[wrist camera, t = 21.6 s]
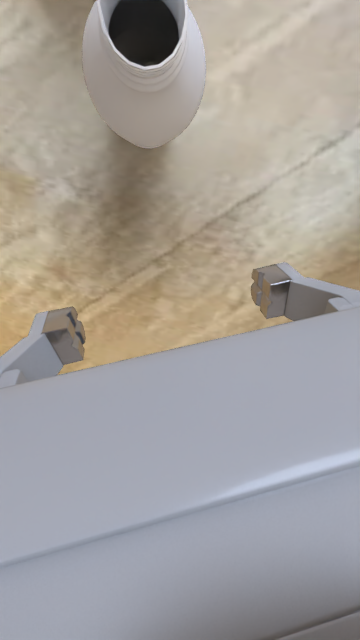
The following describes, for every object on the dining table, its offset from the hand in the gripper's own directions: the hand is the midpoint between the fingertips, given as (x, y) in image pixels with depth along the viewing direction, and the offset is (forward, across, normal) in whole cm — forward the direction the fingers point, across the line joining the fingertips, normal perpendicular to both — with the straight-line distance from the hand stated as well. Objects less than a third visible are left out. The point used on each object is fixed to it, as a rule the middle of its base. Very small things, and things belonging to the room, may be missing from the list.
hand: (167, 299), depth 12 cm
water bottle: (+28, -3, -6) cm, 29 cm away
